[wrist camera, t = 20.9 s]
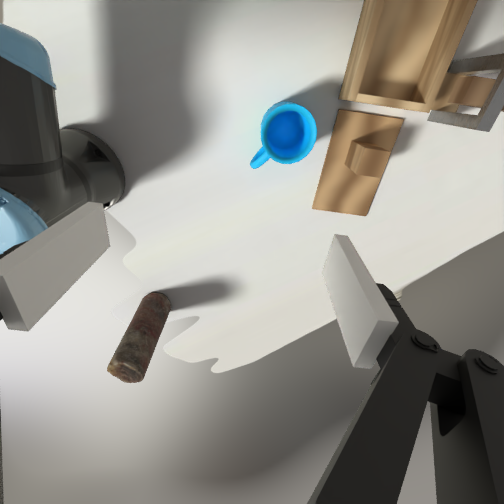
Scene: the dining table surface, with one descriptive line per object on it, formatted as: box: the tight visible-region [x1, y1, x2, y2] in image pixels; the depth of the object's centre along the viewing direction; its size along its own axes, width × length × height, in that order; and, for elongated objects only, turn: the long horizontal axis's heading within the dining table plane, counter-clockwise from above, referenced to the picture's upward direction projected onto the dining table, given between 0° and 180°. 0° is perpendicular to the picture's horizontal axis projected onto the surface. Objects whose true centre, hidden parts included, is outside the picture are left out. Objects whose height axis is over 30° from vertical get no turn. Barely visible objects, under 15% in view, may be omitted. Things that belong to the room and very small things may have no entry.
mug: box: [250, 102, 317, 169], centre depth 43 cm, size 12×8×8 cm
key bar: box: [447, 76, 504, 112], centre depth 35 cm, size 12×3×3 cm, turn 82°
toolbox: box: [338, 0, 478, 113], centre depth 36 cm, size 19×18×6 cm
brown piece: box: [107, 293, 171, 383], centre depth 59 cm, size 8×7×20 cm
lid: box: [312, 109, 404, 216], centre depth 46 cm, size 11×18×8 cm, turn 172°
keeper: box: [427, 54, 504, 132], centre depth 37 cm, size 2×8×12 cm, turn 172°
